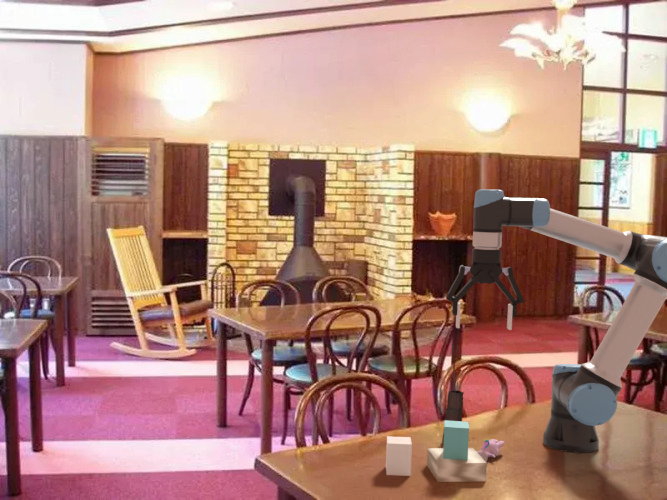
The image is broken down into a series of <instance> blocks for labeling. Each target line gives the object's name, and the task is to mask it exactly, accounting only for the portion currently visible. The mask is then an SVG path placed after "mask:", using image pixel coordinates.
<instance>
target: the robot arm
mask: <svg viewBox="0 0 667 500" xmlns="http://www.w3.org/2000/svg"><path fill="white" fill-rule="evenodd" d="M504 193H505V191H504V190H502V189H482V188H481V189H477V190H476V191H475V193H474V203H473V204H474V205H473V227H472V229H473V230H472V231H473V233H472V247H474V248H472V250H471V265H470V266H464V265H463V264H461V265H459V266H458V267H459V268H458V274H457V275H456V277H455V280H453V283H452V284H451V286H450V288H449V289H448V292H447V294H446V295H445V299H446V301H448V302H449V301H450V302H451V303H452V306H451V309H452V311H451V312H452V315H453V316H455V328H456V329H460V328H461V326H460V325H461V307H462V306H461V305H462V303H461V302H459V301H460V300H461V299H462V298H463V297H464V296H465V295H466V294H467V293H468V291H469V290H471V289H472V287H474V286H475V284H477V283H478V284H479V285H481V284H482V285H483V284H487V285H488V284H489V285H493V284H494V283H495V285H497V287H498V288H499V290H500V291H501V292H502V293H503V294H504V295H505V297H506V298H507V300H508V301H509V302H510V303H508V304H507V316H506V317H507V319H506V320H507V322H506V329H507V330H509V331H512V329H513V318H516V317H517V308H518V307H517V306H518V305H519V304H523V303H524V302H525V299H524V297H523V294H522V292H521V290H520V288H519V285H518V283H517V282H516V279H515V277H514V269H513V268H512V267H511V266H507V267H502V266H501V265H502V251H501V249H500V248H502V244H503V242H502V240H503V239H502V238H503V227H520V228H522V229H526V230H528V231H532V232H535V233H538V234H541V235H544V236H547V237H550V238H553V239H556V240H559V241H562V242H565V243H567V244H571V245H573V246H577V247H579V248H582V249H585V250H589V251H592V252H594V253H597V254H601V255H602V256H603V255H604V256H607V257H609V258H612V259H613V260H614V262H615V264H618V265H621V266H624V267H626V268H629V269H631V270H633V271H634V273H633V274H632V276H633V279H634V285H633V286H632V288H631V290H630V292H629V294H628V295H627V297H626V299H625V300H624V302H623V303H622V305H621V307H620V309H619V311H618V312H617V314H616V316H615V318H614V319H613V322H612V323H611V325H610V326H609V328H608V330H607V332H606V334H605V335H604V336H603V338H602V340H601V342H600V343H599V346H598V347H597V349H596V350H595V353H594V354H593V356H592V358H591V359H590V361H588V362H585V363H581V364H579V363H577V364H576V363H558V364H554V366H553V369H552V373H551V377H552V380H551V383H552V384H551V397H550V398H551V402H550V403H551V405H550V417H549V420H548V422H547V424H546V427H545V430H544V431H543V434H542V435H543V436H542V438H543V439H542V443H543V445H545V446H547V447H549V448H550V449H553V450H557V451H562V452H566V453H574V454H575V453H578V454H579V453H581V454H582V453H585V454H586V453H593V452H596V451H598V449H599V443H600V440H599V437H598V433H597V428H596V426H601V425H603V424H606V423H607V422H609V421H610V420H611V419H612V418H613V416H614V415H615V414H616V412H617V407H618V400H617V397H618V395H619V393H620V392H621V390H622V388H623V383H622V381H621V379H622V376H623V374H624V372H625V370H626V369H627V367H628V365H629V364H630V362H631V360H632V359H633V357H634V356H635V353H636V351H637V350H638V347H639V346H640V345H641V343H642V341H643V339H644V338H645V335H646V334H647V332H648V331H649V329H650V327H651V326H652V325H653V322H654V320H655V318H656V317H657V315H658V313H659V312H660V310H661V308H662V307H663V305H664V304H665V301H666V300H667V236H660V235H653V234H651V235H649V234H643V233H638V232H634V231H631V230H626V231H620V230H617V229H614V228H611V227H608V226H605V225H602V224H599V223H596V222H592V221H589V220H586V219H583V218H582V217H579V216H574V215H572V214H568V213H565V212H562V211H560V210H556V209H553V208H551V205H550V202H549V200H548V199H546V198H539V197H532V198H531V197H517V196H515V197H514V196H513V197H506V196H505V194H504ZM468 272H470V274H471V276H472V277H470V278H469V280H468V282H467V283H465V285H464V286H463V287H462V288H461V289H460V290H459V291H458V292H457V293H456V291H457V289H458V287H459V286H460V284H461V282H462V280H463V278H464V276H465V275H467V274H468ZM502 273H503V274H504V275H505V276H507V279H508V281H509V284H510V286H511V288H512V291H513V292H514V295H515V297H516V298H515V297H514V296H513V295H512V294H511V292H510V291H509V290H508V289H507V287H506V286H505V285H504V283H503V282H502V280H501V279H500V278H499V277H500V276H502ZM455 293H456V294H455ZM454 295H455V296H454Z"/></svg>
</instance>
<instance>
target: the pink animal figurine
mask: <svg viewBox="0 0 667 500" xmlns="http://www.w3.org/2000/svg"><path fill="white" fill-rule="evenodd" d="M504 443H505V441H504V440H498V439H496V438H495V439H494V438H492V439H488V438H485V439H484V442H483V444H482V447H481V448H480V450H475V451H476V452H477V453H478V454H479V455H480V456H481V457H482V458H483V459H484V461H485V462H486V463H488V460H489V458H496V457H497V456H498V455H499V453H500V449H501V448H502V447H503V446H504Z"/></svg>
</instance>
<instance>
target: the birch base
mask: <svg viewBox="0 0 667 500" xmlns="http://www.w3.org/2000/svg"><path fill="white" fill-rule="evenodd" d="M476 451H477V450H476V449H474V448H473V447H468V460H456V459H443V447H439V448H438V447H432V448H427V452H426V453H427V454H426V467H427V468H428V469H429V471H430V472H431V474H432V475H433V477H434V478H435V480H436V479H437V480H436V481H437V482H439V483H446V482H447V483H448V482H449V483H451V482H453V483H454V482H458V483H460V482H461V483H462V482H464V483H465V482H487V463H488V462H485V461H484V459H483V458H482V457H481V456H480V455H479V454H478V453H477V452H476Z"/></svg>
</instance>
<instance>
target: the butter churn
mask: <svg viewBox="0 0 667 500" xmlns="http://www.w3.org/2000/svg"><path fill="white" fill-rule="evenodd" d="M451 345H452V364H453V365H452V367H453V369H452V370H453V371H452V372H453V390H448V393H447V399H446V400H447V402H446V403H447V404H446V410H445V411H446V412H445V419H444V421H445V420H447V421H463V411H464V410H463V406H464V394H465V393H464V391H460V390H458V389H457V387H456V386H457V385H456V382H457V381H456V380H457V379H456V357H455V343H452V344H451ZM441 443H442V444H444V431H443V433H442V442H441Z"/></svg>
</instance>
